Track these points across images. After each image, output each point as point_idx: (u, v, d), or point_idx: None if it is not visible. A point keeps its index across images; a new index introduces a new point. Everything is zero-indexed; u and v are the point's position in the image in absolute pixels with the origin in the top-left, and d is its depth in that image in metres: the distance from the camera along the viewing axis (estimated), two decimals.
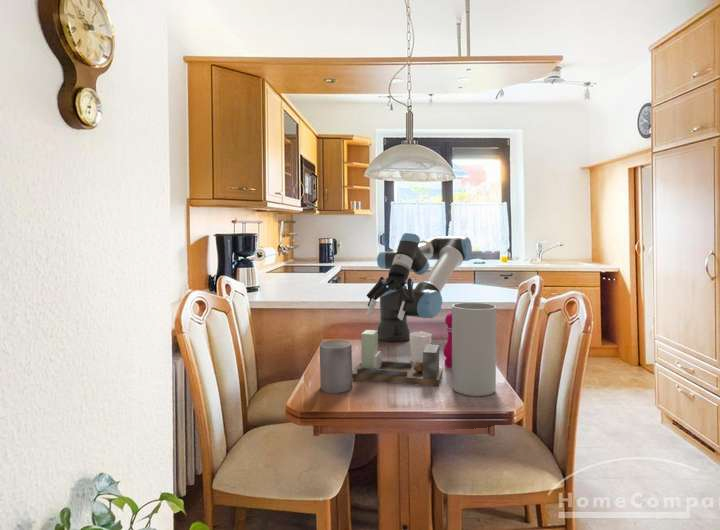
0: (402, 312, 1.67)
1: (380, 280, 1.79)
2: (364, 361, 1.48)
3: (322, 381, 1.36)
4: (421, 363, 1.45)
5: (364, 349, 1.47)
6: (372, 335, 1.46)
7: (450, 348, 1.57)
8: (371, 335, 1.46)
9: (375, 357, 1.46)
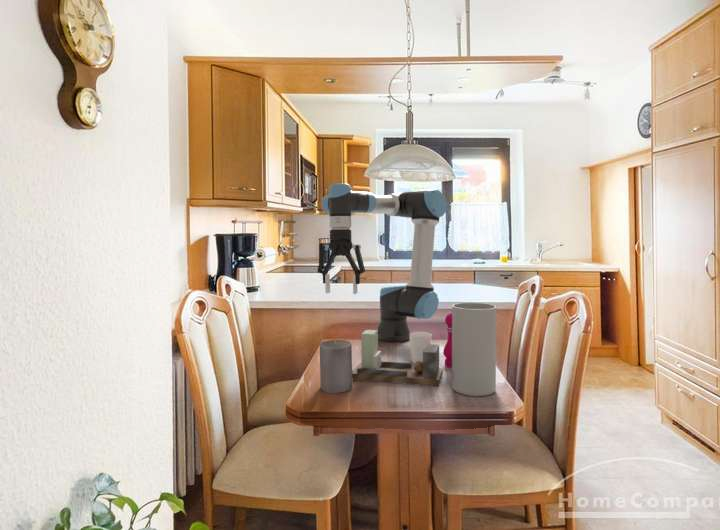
0: (356, 286, 1.59)
1: (323, 249, 1.60)
2: (364, 361, 1.48)
3: (322, 381, 1.36)
4: (421, 363, 1.45)
5: (364, 349, 1.47)
6: (372, 335, 1.46)
7: (450, 348, 1.57)
8: (371, 335, 1.46)
9: (375, 357, 1.46)
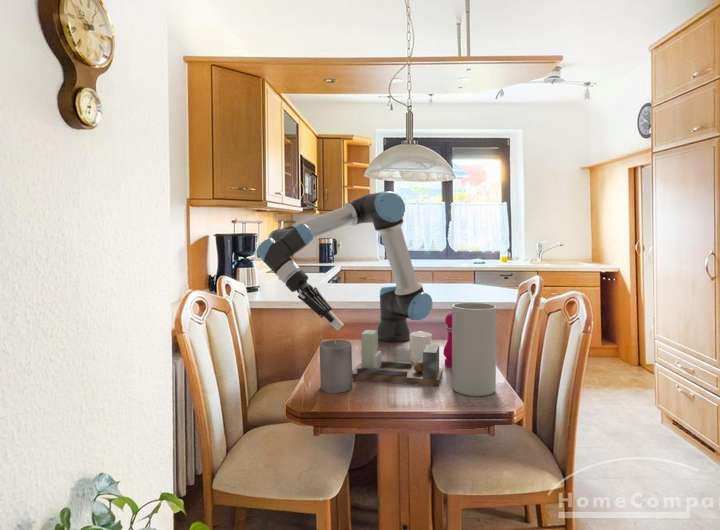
0: (334, 323, 1.51)
1: None
2: (364, 361, 1.48)
3: (322, 381, 1.36)
4: (421, 363, 1.45)
5: (364, 349, 1.47)
6: (372, 335, 1.46)
7: (450, 348, 1.57)
8: (371, 335, 1.46)
9: (375, 357, 1.46)
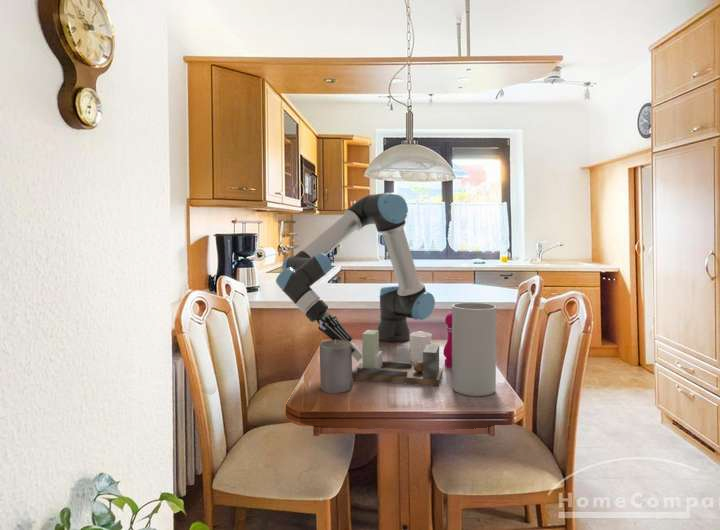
0: (354, 354, 1.50)
1: None
2: (365, 361, 1.47)
3: (322, 381, 1.36)
4: (421, 363, 1.45)
5: (365, 349, 1.47)
6: (373, 335, 1.46)
7: (450, 348, 1.57)
8: (372, 335, 1.46)
9: (376, 357, 1.46)
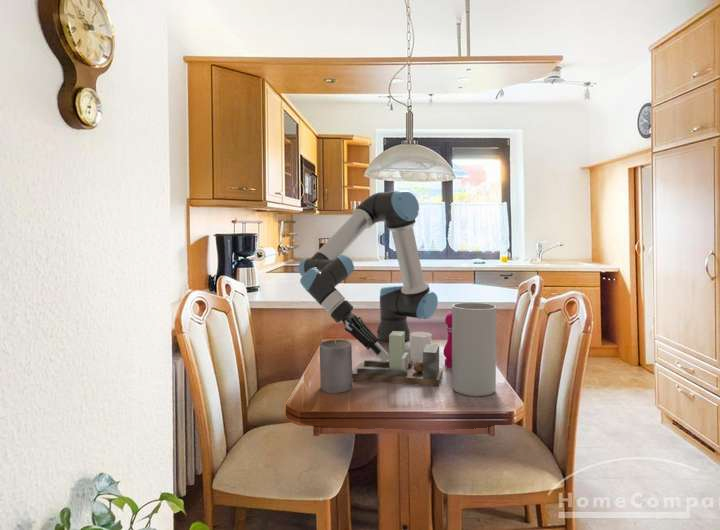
0: (381, 355, 1.48)
1: None
2: (392, 363, 1.45)
3: (322, 381, 1.36)
4: (421, 363, 1.45)
5: (392, 350, 1.45)
6: (400, 336, 1.44)
7: (450, 348, 1.57)
8: (399, 336, 1.44)
9: (403, 359, 1.44)
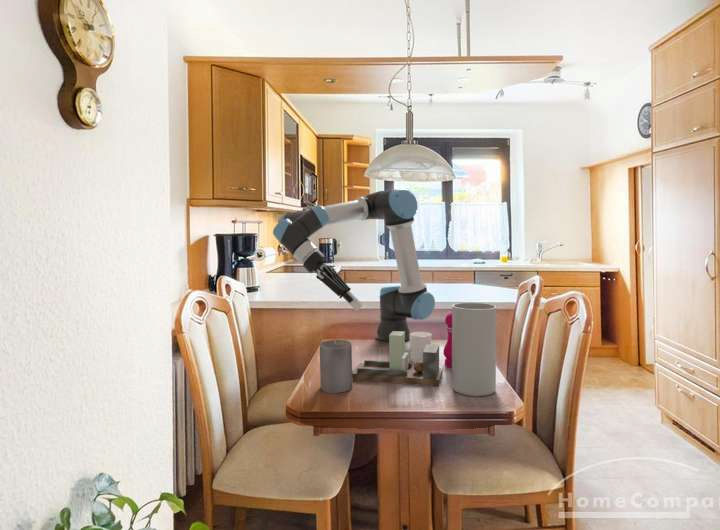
0: (353, 303, 1.49)
1: None
2: (392, 363, 1.45)
3: (322, 381, 1.36)
4: (421, 363, 1.45)
5: (392, 350, 1.45)
6: (400, 336, 1.44)
7: (450, 348, 1.57)
8: (399, 336, 1.44)
9: (403, 359, 1.44)
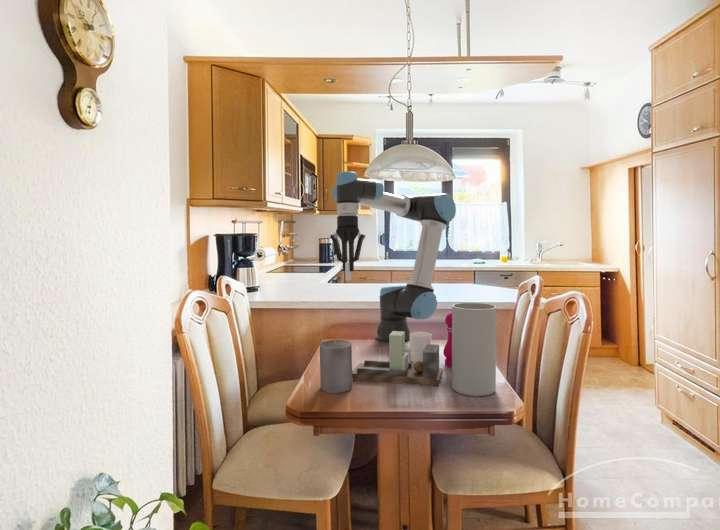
0: (350, 273, 1.66)
1: (333, 239, 1.66)
2: (392, 363, 1.45)
3: (322, 381, 1.36)
4: (421, 363, 1.45)
5: (392, 350, 1.45)
6: (400, 336, 1.44)
7: (450, 348, 1.57)
8: (399, 336, 1.44)
9: (403, 359, 1.44)
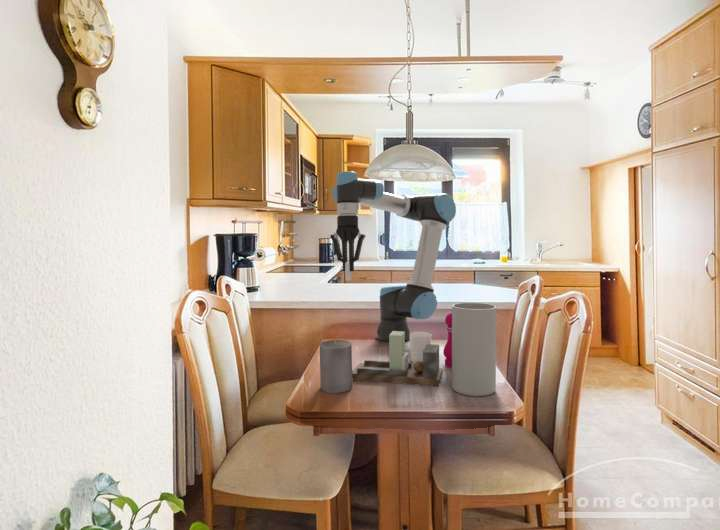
0: (350, 273, 1.66)
1: (333, 238, 1.66)
2: (392, 363, 1.45)
3: (322, 381, 1.36)
4: (421, 363, 1.45)
5: (392, 350, 1.45)
6: (400, 336, 1.44)
7: (450, 348, 1.57)
8: (399, 336, 1.44)
9: (403, 359, 1.44)
